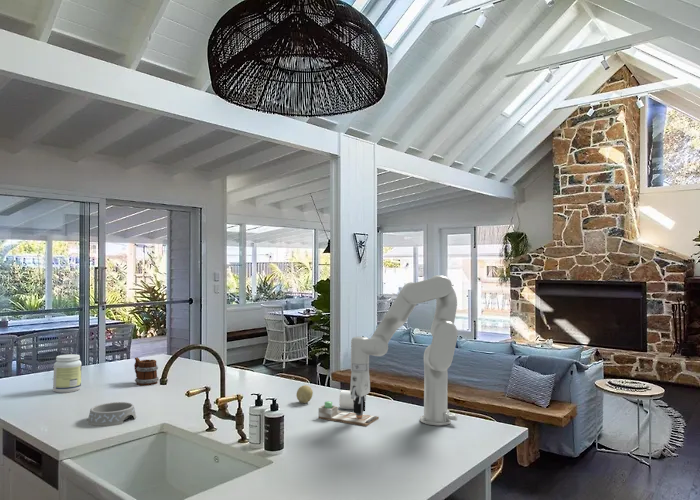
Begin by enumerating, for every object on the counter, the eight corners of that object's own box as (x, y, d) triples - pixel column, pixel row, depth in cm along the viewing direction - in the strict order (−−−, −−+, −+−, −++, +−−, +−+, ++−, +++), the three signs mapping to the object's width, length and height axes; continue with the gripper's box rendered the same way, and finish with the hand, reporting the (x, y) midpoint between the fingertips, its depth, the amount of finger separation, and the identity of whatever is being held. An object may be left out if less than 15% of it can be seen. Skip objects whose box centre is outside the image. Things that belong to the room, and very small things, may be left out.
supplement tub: (86, 389, 262) (87, 355, 262) (61, 394, 252) (62, 359, 252) (72, 386, 268) (73, 353, 269) (47, 390, 258) (48, 356, 259)
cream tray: (378, 418, 219) (378, 408, 219) (366, 426, 208) (366, 415, 208) (332, 411, 229) (332, 401, 229) (318, 418, 218) (318, 407, 218)
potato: (313, 401, 246) (314, 383, 246) (310, 405, 238) (311, 387, 238) (297, 400, 247) (298, 383, 247) (294, 404, 239) (294, 387, 239)
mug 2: (361, 412, 229) (361, 393, 229) (339, 410, 231) (339, 392, 231) (366, 405, 240) (366, 387, 241) (344, 403, 242) (345, 386, 243)
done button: (333, 409, 220) (333, 402, 220) (329, 411, 217) (329, 403, 218) (326, 408, 222) (326, 401, 222) (323, 410, 219) (323, 402, 219)
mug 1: (147, 386, 269) (144, 357, 270) (127, 388, 275) (125, 359, 277) (164, 382, 279) (161, 353, 281) (145, 383, 285) (143, 356, 287)
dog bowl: (77, 424, 207) (77, 410, 207) (112, 412, 224) (113, 399, 225) (111, 429, 201) (111, 414, 202) (145, 416, 219) (145, 403, 219)
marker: (364, 416, 217) (364, 391, 217) (360, 418, 214) (361, 392, 215) (357, 415, 218) (357, 390, 219) (354, 417, 216) (354, 391, 216)
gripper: (359, 371, 208) (358, 418, 207) (376, 364, 222) (375, 408, 222) (342, 369, 211) (342, 415, 211) (360, 363, 226) (359, 406, 225)
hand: (359, 411), depth 216 cm, fingers open, 3 cm apart
